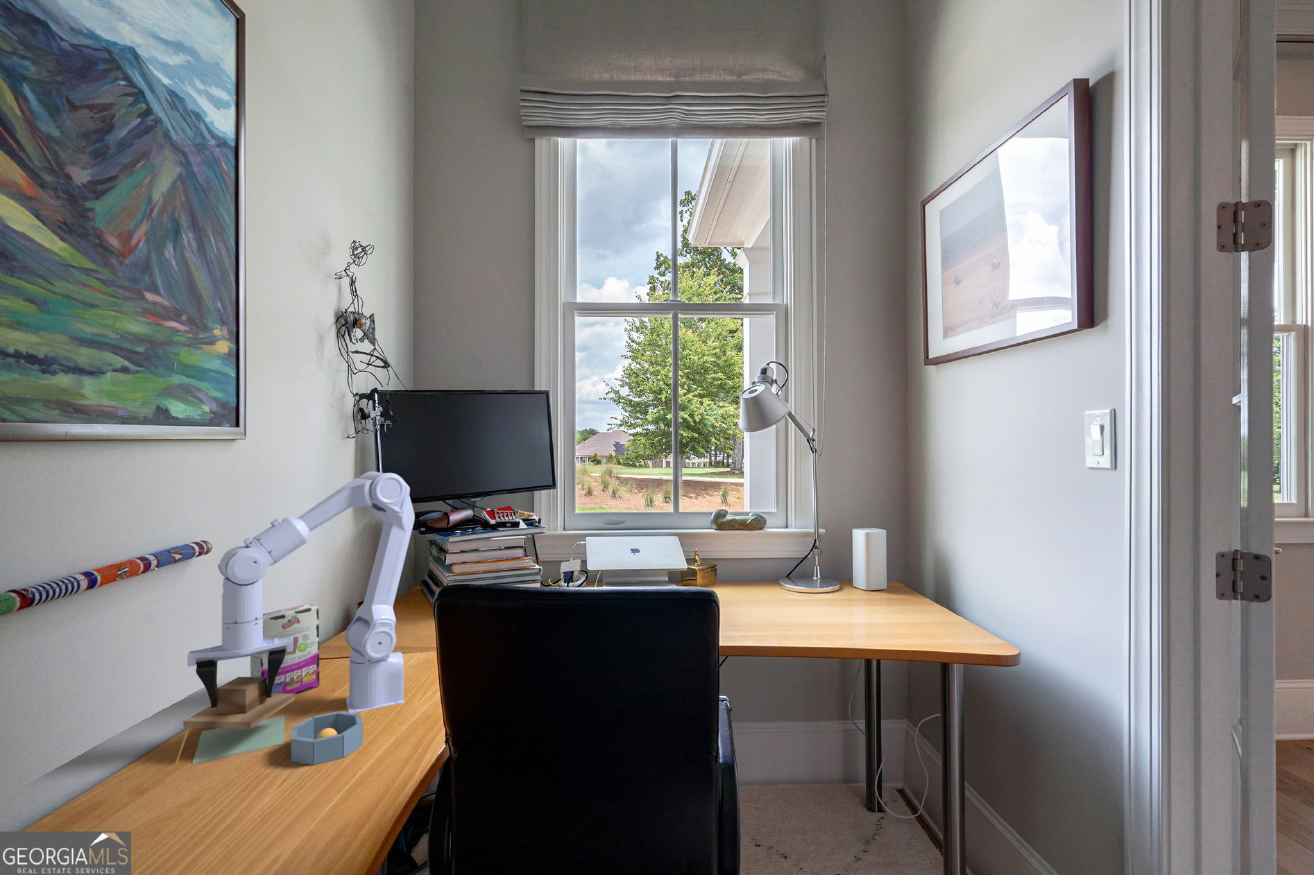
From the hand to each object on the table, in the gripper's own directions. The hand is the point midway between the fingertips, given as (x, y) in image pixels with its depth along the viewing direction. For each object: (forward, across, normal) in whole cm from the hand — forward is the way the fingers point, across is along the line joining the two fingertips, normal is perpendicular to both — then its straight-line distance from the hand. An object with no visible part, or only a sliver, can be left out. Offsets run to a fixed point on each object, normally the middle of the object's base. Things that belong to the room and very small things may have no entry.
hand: (242, 700), depth 102 cm
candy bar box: (+7, -6, -19) cm, 21 cm away
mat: (+7, 0, 0) cm, 7 cm away
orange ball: (+6, -12, +11) cm, 17 cm away
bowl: (+7, -12, +11) cm, 18 cm away
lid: (+2, 0, 0) cm, 2 cm away
